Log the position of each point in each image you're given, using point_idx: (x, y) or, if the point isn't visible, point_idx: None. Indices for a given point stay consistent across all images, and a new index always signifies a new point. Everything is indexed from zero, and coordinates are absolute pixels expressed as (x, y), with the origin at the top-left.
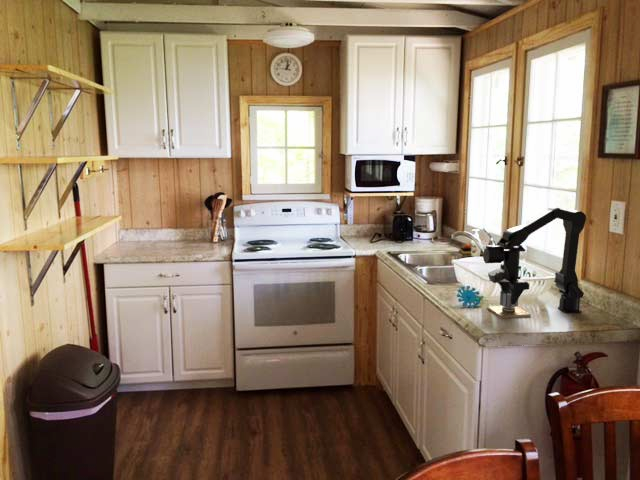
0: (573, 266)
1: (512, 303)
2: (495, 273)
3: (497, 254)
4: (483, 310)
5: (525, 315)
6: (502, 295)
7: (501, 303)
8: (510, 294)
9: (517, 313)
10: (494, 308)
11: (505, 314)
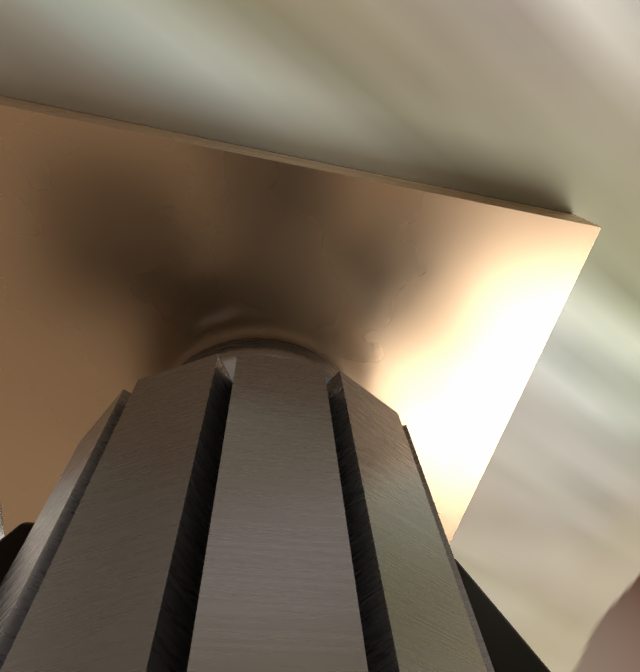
0: None
1: (5, 537)
2: None
3: None
4: (550, 85)
5: (8, 506)
6: (196, 587)
7: (253, 382)
8: None
9: (69, 454)
10: (436, 280)
11: (30, 246)
